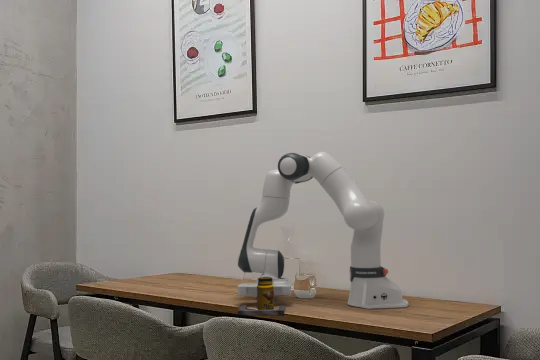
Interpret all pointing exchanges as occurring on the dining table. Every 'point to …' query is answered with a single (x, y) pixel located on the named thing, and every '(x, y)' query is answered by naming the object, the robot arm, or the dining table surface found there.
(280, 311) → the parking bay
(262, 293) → the condiment
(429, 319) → the dining table surface
